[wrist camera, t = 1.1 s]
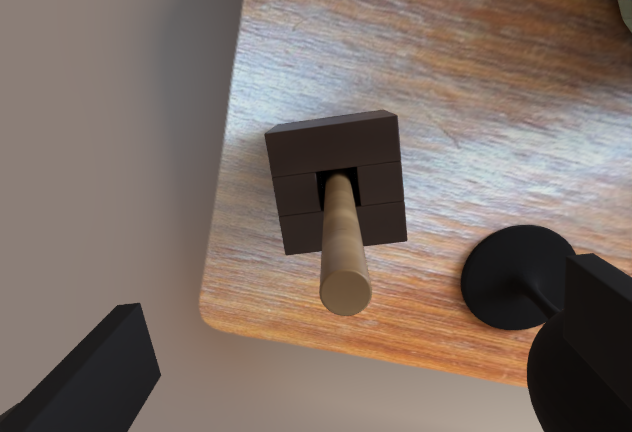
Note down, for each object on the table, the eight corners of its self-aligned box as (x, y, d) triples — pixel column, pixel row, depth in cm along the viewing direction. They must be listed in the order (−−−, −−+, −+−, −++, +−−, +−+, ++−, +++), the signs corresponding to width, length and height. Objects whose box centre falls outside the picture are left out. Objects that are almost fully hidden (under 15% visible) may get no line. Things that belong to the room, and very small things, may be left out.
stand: (277, 124, 34) (264, 133, 27) (384, 109, 33) (397, 115, 27) (293, 225, 37) (285, 255, 30) (393, 213, 36) (407, 241, 29)
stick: (325, 160, 35) (316, 272, 14) (346, 158, 35) (369, 266, 14) (327, 181, 35) (323, 319, 14) (348, 178, 35) (374, 314, 14)
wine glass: (537, 200, 35) (780, 333, 16) (600, 285, 37) (880, 492, 18) (436, 271, 38) (546, 462, 18) (501, 348, 40) (659, 590, 21)
